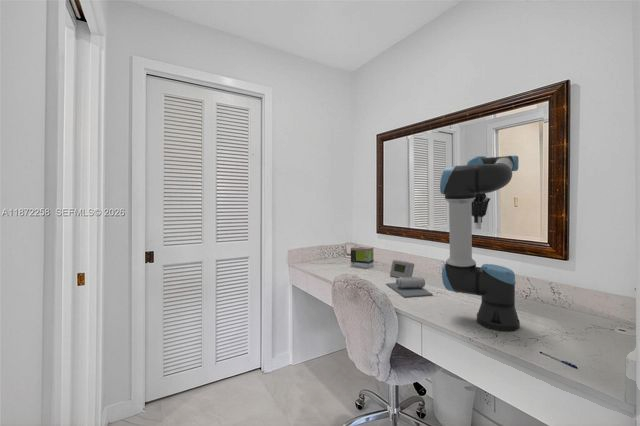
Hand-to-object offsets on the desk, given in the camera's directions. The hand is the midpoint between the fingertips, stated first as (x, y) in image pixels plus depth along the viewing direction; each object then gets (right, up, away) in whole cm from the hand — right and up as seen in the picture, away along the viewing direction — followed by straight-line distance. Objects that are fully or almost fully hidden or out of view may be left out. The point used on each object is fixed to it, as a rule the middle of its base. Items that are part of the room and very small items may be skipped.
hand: (477, 228), depth 164 cm
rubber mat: (-37, -35, +5) cm, 51 cm away
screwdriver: (-12, -38, -70) cm, 80 cm away
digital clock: (-33, -34, +31) cm, 57 cm away
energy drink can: (-27, -31, +6) cm, 42 cm away
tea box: (-54, -33, +66) cm, 91 cm away
